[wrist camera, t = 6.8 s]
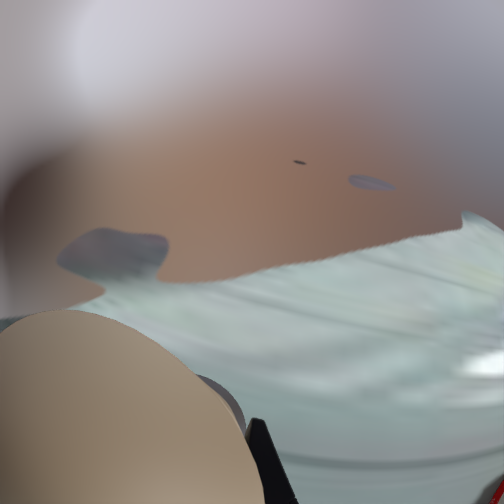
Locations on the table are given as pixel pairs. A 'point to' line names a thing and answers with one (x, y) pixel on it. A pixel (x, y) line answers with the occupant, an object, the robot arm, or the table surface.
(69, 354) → the birch ring post
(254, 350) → the table surface
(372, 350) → the table surface
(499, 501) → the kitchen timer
